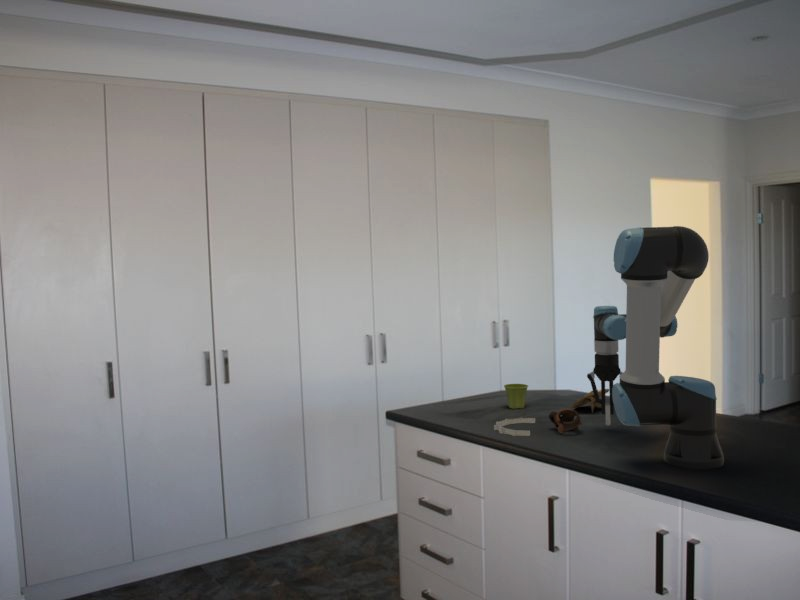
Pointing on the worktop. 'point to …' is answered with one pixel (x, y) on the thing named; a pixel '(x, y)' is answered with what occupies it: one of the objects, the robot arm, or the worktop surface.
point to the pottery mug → (565, 420)
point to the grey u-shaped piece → (513, 421)
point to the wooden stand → (589, 400)
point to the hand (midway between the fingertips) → (608, 424)
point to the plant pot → (516, 395)
